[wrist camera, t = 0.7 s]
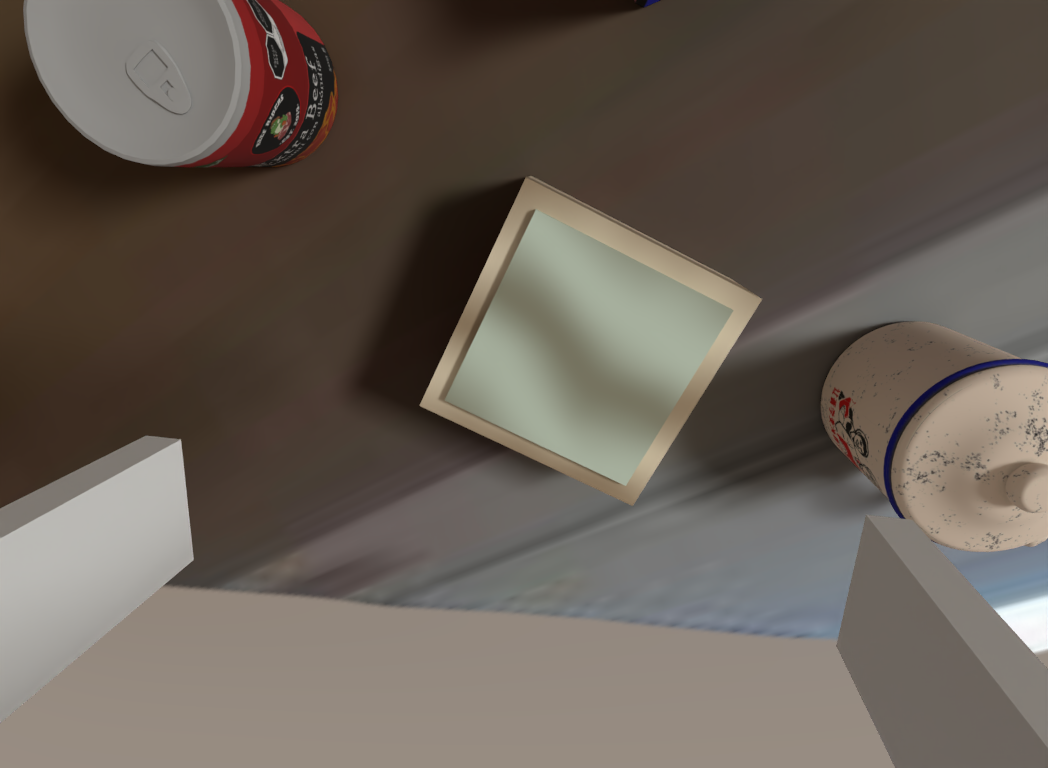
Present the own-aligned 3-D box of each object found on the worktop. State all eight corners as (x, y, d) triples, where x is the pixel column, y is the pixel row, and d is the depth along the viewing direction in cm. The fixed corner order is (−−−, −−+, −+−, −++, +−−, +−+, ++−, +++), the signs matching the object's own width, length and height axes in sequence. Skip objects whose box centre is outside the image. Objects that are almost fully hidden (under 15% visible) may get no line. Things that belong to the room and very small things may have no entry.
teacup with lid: (781, 385, 36) (878, 480, 25) (927, 280, 34) (1104, 334, 23) (895, 529, 39) (1028, 672, 28) (1038, 440, 36) (1245, 558, 25)
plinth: (531, 175, 33) (525, 177, 28) (731, 278, 34) (764, 301, 29) (439, 371, 37) (417, 408, 31) (622, 459, 38) (633, 509, 33)
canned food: (298, 197, 34) (185, 209, 24) (166, 102, 33) (-14, 72, 23) (373, 69, 32) (283, 21, 22) (233, -38, 31) (69, -142, 21)
